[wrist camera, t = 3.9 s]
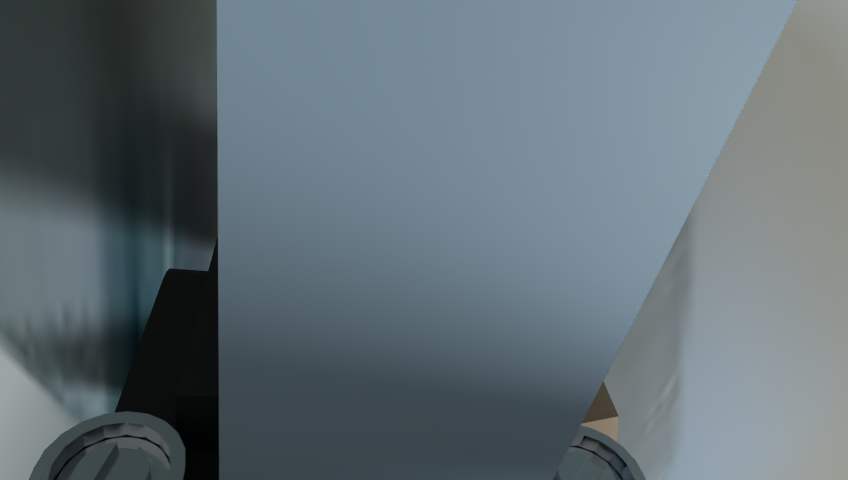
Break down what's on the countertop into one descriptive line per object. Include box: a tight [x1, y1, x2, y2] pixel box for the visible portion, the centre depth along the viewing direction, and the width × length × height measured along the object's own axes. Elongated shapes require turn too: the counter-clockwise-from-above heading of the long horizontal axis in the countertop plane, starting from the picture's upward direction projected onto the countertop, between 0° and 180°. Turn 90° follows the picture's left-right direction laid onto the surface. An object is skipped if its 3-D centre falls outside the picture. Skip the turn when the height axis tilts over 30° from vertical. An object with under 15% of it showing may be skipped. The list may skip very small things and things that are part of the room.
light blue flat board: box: [217, 0, 798, 480], centre depth 11 cm, size 16×2×13 cm, turn 169°
